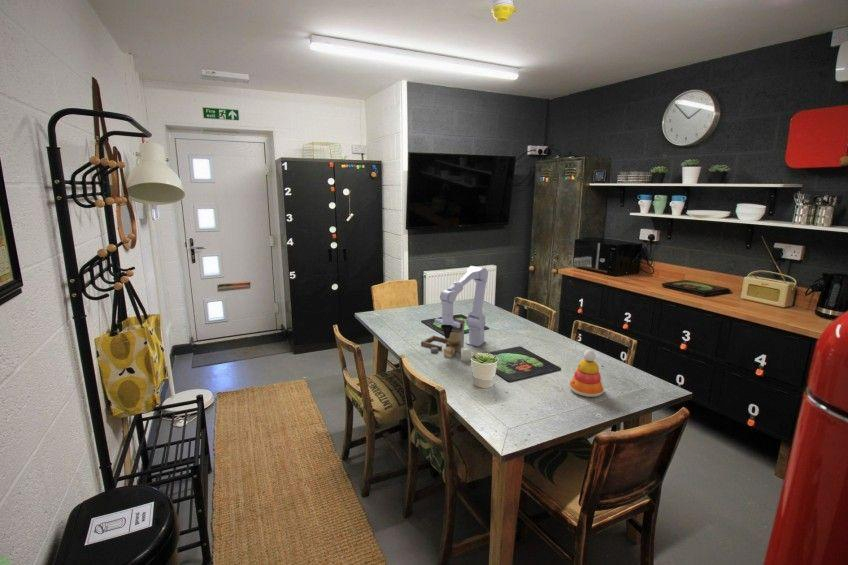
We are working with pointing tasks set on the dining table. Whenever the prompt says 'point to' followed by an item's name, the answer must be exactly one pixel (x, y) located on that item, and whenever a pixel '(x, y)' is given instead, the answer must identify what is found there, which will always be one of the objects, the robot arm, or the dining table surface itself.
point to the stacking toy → (587, 377)
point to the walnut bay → (427, 344)
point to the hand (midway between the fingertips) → (447, 337)
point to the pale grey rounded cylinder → (465, 354)
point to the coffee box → (456, 337)
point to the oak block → (449, 351)
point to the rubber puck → (434, 350)
